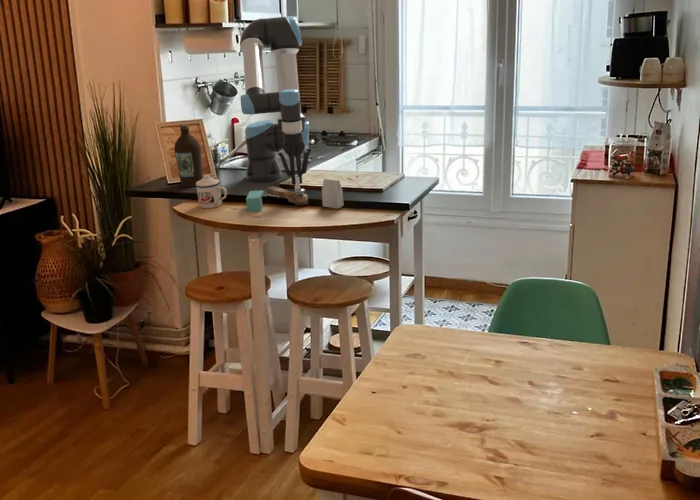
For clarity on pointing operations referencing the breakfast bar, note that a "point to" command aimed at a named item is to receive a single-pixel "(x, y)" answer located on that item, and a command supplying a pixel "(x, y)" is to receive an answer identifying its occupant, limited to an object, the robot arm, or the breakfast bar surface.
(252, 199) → the teal rectangular block
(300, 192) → the pintle
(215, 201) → the teacup with lid
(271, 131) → the robot arm
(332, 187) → the white paper bag
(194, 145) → the olive oil
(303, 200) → the walnut link
